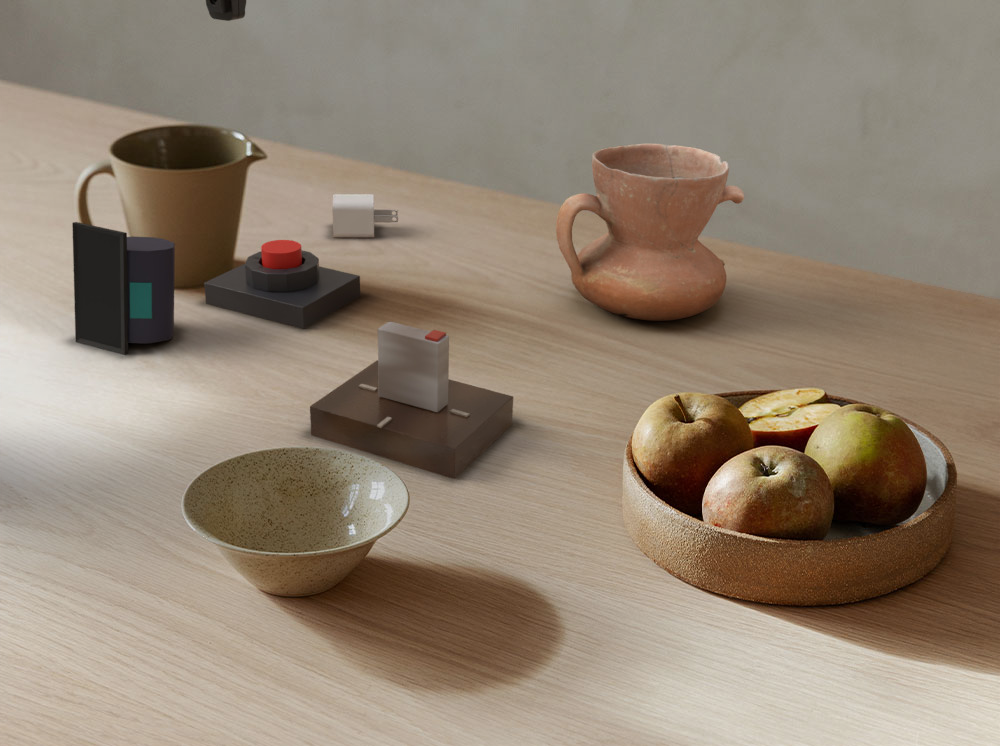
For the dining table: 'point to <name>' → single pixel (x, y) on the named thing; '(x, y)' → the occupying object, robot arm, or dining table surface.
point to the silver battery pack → (413, 366)
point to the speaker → (122, 288)
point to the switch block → (283, 291)
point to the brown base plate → (413, 423)
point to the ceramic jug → (650, 231)
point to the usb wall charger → (357, 216)
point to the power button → (281, 254)
